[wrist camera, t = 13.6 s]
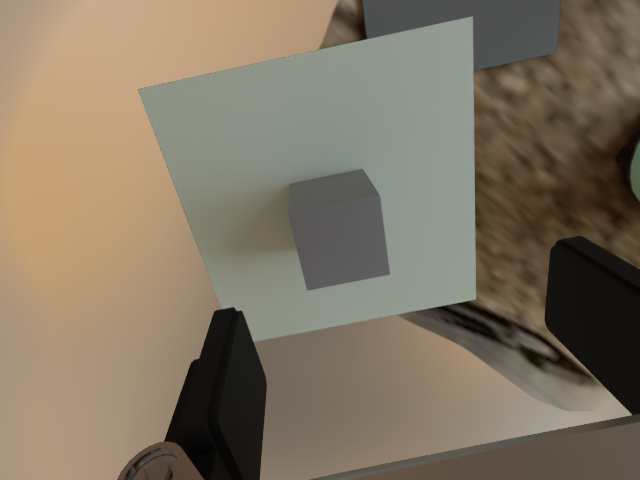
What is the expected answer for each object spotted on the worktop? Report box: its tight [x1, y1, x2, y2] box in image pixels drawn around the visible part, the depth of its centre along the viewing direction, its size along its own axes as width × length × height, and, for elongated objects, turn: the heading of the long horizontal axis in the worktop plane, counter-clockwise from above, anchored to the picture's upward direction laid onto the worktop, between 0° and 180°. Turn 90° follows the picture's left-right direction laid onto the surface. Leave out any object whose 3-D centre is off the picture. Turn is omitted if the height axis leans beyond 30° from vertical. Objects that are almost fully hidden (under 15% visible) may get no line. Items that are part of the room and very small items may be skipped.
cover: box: [138, 16, 476, 342], centre depth 27 cm, size 16×16×23 cm
